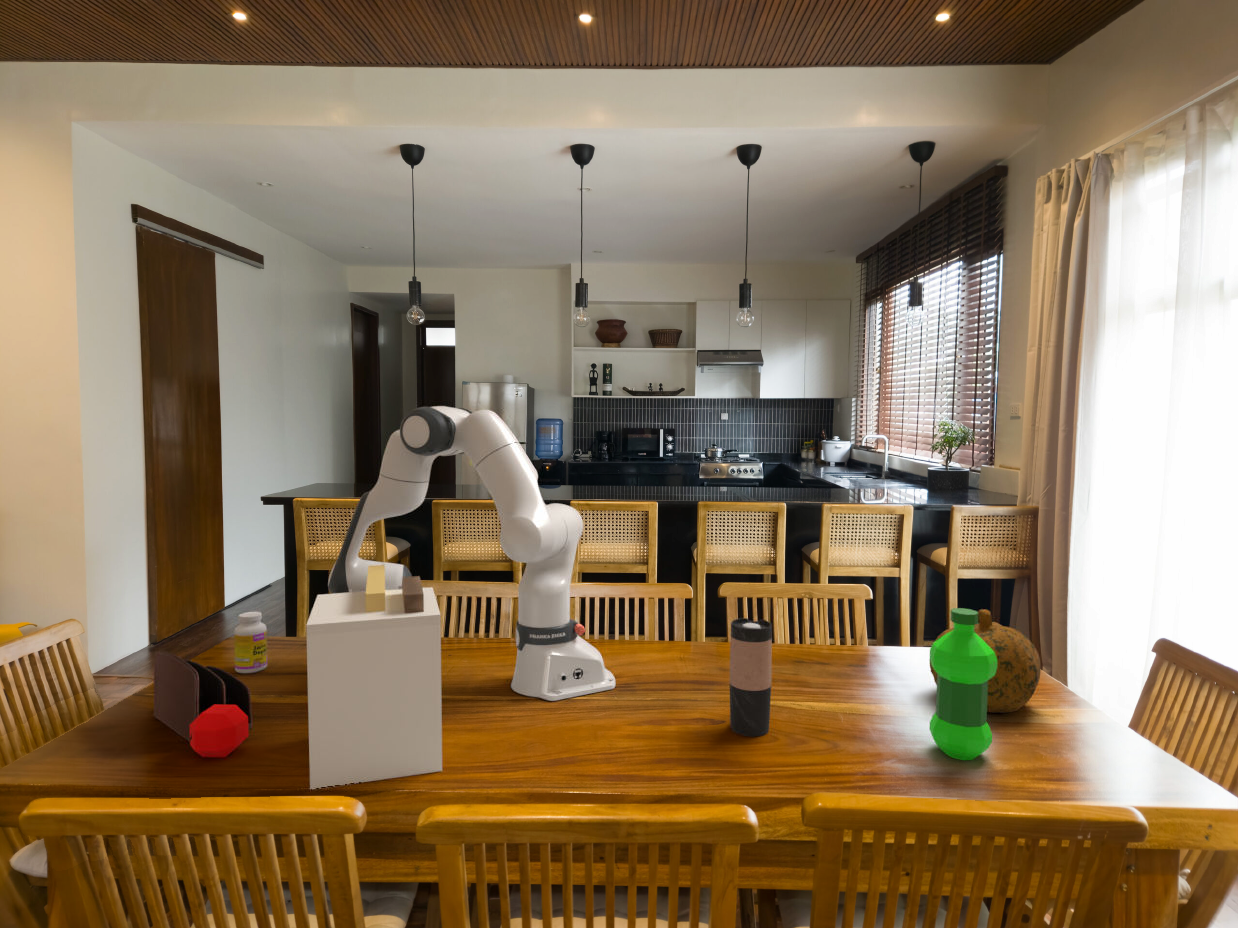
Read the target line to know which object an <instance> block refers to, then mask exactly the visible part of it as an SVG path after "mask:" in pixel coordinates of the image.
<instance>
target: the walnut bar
mask: <svg viewBox="0 0 1238 928" xmlns="http://www.w3.org/2000/svg"><path fill="white" fill-rule="evenodd" d="M422 587H423V586H422V581H421V577H420V575H418V576H417V575H415V576H412V577H402V593H403V603H404V612H405V613H416V612H424V594H423V589H422Z"/></svg>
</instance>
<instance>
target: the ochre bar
mask: <svg viewBox="0 0 1238 928" xmlns="http://www.w3.org/2000/svg"><path fill="white" fill-rule="evenodd" d="M378 611H385V565H374V566H368V576H367V586H366V612H378Z"/></svg>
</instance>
